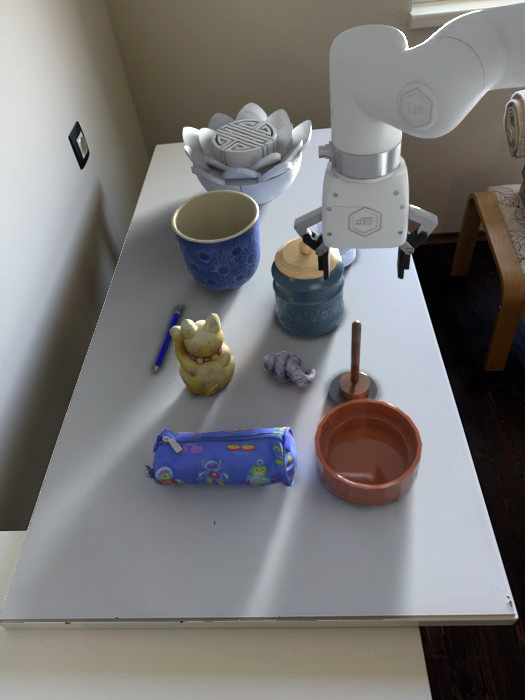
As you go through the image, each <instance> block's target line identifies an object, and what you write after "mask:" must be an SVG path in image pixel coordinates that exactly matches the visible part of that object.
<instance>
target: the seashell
mask: <svg viewBox="0 0 525 700" xmlns="http://www.w3.org/2000/svg"><path fill="white" fill-rule="evenodd" d="M261 361H262V365H263V368H264V369H265V370H266V372H267V373H268V374H269V376H272V377H273V378H274V377H275V378H276V379H277V380H278V381H279V382H280V383H289V382H293V384H294V385H295V386H297V387H299V388H307V387H309V386H310V384H311V382H312V381H313V380H314V379H315V378H316V370H315V368H311V369H308V370H307V371H305V372H304V371H303V370H302V369H301V367H302V358H301V357H300V356H299V355H298V354H289V352H287V351H280V352H279V353H275V352H271V353H270V352H269V353H267V354H266V355H265V357H263V358H262V359H261Z"/></svg>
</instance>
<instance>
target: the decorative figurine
mask: <svg viewBox="0 0 525 700" xmlns="http://www.w3.org/2000/svg"><path fill="white" fill-rule="evenodd" d="M169 332H170V334H171V339H172V341H173V345H174V354H175V358H176V360H177V362H178V364H179V368H178V373H179V376H180V379H181V380H182V382H183V384H184V385H185V386H186V388H187V389H188V391H190V392H191V393H193V394H195V395H199V396H200V395H201V396H206V397H212V396H213V395H214V394H216V393H218V392H220V391H222V390H224V389H225V388H227V386H228V385H229V384H230V382H231V381H232V378H233V375H234V372H235V367H236V364H235V363H236V362H235V358H234V356H233V354H232V352H231V349H230V348H229V346H228V345H227V344H226V343H224V337H225V336H224V332H223V329H222V325H221V320H220V317H219V315H218V314H217V313H214V312H213V313H212V312H211V313H210V314H209V315H208V316H206V318H205V320H204V319H200V320H197V321H195V322H194V321H193V320H192V319H187V318H186V319H183V320H182V321H181V322H180V325H175V326H173V327H172V328H171V329H170V330H169Z"/></svg>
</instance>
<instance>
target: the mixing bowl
mask: <svg viewBox="0 0 525 700" xmlns="http://www.w3.org/2000/svg"><path fill="white" fill-rule="evenodd" d="M314 435H315V436H314V450H315V451H314V452H315V463H316V464H315V465H316V471H317V474H318V475H319V477H320V479H321V481H322V482H323V485H324V486H325V487H326V488H327V489H328V490H329V491H330V492H331V493H332V494H333V495H334V496H336V497H337V498H339V499H341V500H342V501H343V500H344V501H345V502H347V503H349V504H353V505H356V506H362V507H377V506H378V507H379V506H384V505H387V504H390V503H393V502H394V501H397V500H399V499H400V498H402V497H403V496H404V495H405V494H406V493H407V492H409V490H411V488H412V486H413V484H414V483H415V480H416V478H417V476H418V474H419V473H418V471H419V468H420V463H421V457H422V449H423V442H422V437H421V434H420V431H419V429H418V427H417V425H416V424H415V422H414V421H413V420H412V418H411V417H410V416H409V415H408V414H406V413H405V412H404V410H403V411H402V409H401V408H399V407H397V406H395V405H393V404H391V403H388V402H386V401H384V400H379V399H376V400H373V399H358V400H351V401H348V402H345V403H342V404H340V405H338V406H337V405H335V407H333V408H332V409H330V410H329V411H328V412H327V413H326V414H325V415H324V416H323V418H322V419H321V420H320V422H319V423H318V424H317V428H316V432H315V434H314Z"/></svg>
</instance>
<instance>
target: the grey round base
mask: <svg viewBox="0 0 525 700" xmlns="http://www.w3.org/2000/svg"><path fill="white" fill-rule="evenodd" d="M347 372H348V371H345V372H342V373H340V374H338V375H336V376H335V377H334V378H333V379H332V381H331V382H330V385H329V397H330V399H331V401H332V403H333V404H335V406H338V405H340V404H342V403H345V402H348V400H346V399H344V398H343V397H342V396H341V394H340V391H339V381H340V378H341V377H342V376H343V375H344V374H345V373H347ZM362 373H363V374H365V375H366V376H367V377H368V379H369V381H370V388H369V394H368V396H367V397H366V398H365V399H373V400H377V397H378V386H377V383H376V382H375V380H374V379H373V378H372V377H371V376H369V375H368V374H366V373H364V372H362Z"/></svg>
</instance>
